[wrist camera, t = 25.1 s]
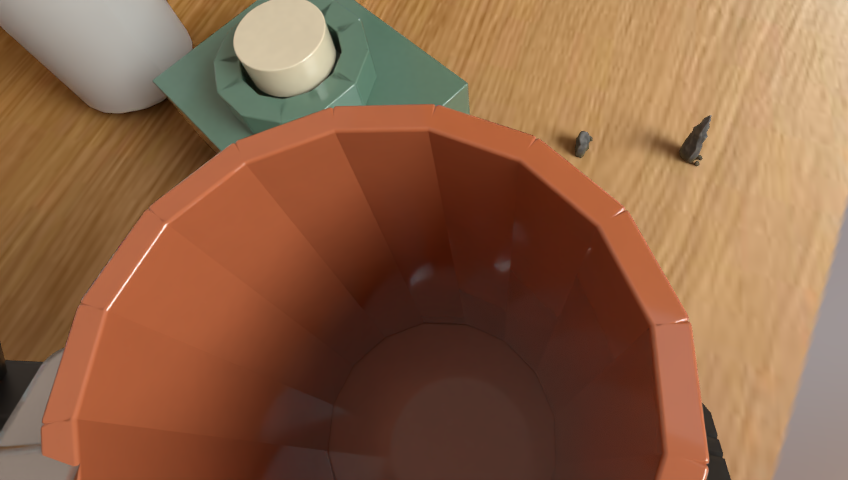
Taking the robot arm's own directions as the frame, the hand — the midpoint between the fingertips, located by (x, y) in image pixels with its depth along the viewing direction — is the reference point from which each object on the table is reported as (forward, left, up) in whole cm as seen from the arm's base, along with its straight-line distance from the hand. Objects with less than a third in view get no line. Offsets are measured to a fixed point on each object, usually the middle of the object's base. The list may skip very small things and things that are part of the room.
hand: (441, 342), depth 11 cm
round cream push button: (-13, +10, -8) cm, 18 cm away
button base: (-13, +10, -14) cm, 21 cm away
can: (-27, +10, -14) cm, 32 cm away
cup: (0, -2, -4) cm, 5 cm away
